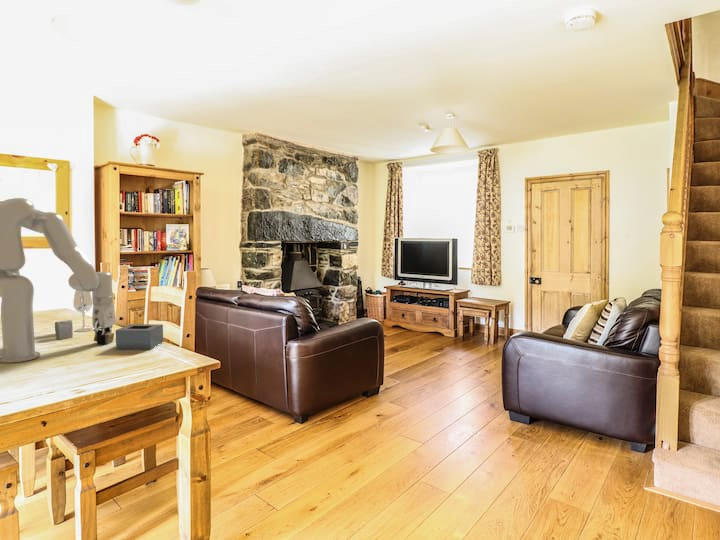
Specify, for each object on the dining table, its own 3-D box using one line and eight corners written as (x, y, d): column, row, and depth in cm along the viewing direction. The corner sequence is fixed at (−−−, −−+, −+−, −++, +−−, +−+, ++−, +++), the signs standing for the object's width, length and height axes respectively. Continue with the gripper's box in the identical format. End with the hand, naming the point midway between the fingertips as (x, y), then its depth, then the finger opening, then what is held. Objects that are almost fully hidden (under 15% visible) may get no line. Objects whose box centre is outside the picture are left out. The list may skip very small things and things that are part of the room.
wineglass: (78, 332, 214) (76, 290, 213) (71, 330, 219) (70, 289, 217) (96, 329, 220) (94, 289, 219) (89, 327, 225) (87, 288, 223)
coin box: (116, 349, 184) (115, 330, 183) (130, 342, 196) (130, 324, 195) (150, 349, 184) (150, 330, 183) (163, 342, 196) (162, 324, 195)
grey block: (79, 334, 208) (75, 318, 205) (62, 342, 200) (58, 326, 197) (66, 332, 209) (62, 316, 207) (49, 340, 201) (45, 324, 199)
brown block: (93, 340, 192) (95, 331, 192) (98, 338, 196) (100, 329, 196) (107, 344, 192) (109, 335, 192) (112, 342, 196) (114, 333, 196)
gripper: (100, 303, 185) (102, 347, 186) (121, 298, 201) (123, 338, 203) (82, 303, 185) (84, 347, 186) (104, 297, 201) (106, 338, 203)
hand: (104, 342), depth 194 cm, fingers closed on brown block, 3 cm apart
